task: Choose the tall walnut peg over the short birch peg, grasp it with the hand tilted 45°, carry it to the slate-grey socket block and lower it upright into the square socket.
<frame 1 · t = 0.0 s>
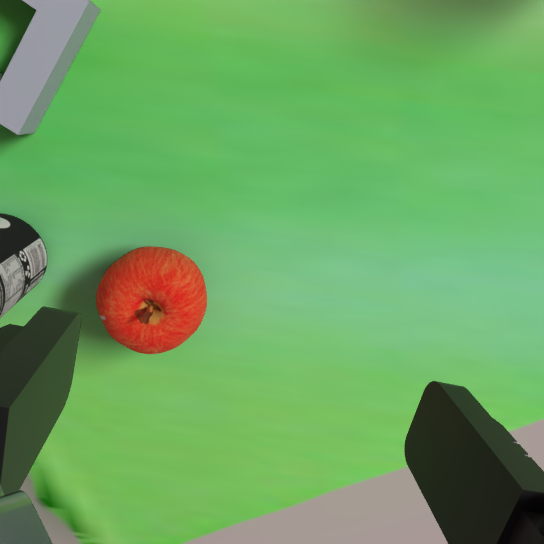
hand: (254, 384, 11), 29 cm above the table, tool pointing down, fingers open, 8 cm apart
apple: (160, 282, 41), on the table
beverage can: (8, 251, 39), on the table
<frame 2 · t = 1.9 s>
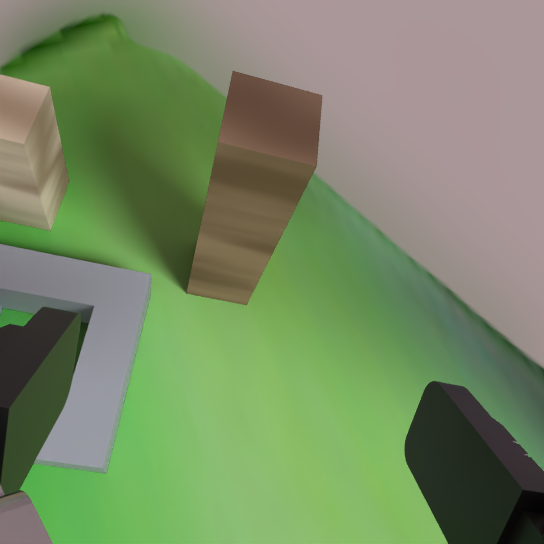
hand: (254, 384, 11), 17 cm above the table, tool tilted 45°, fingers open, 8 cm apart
socket block: (36, 361, 26), on the table
walnut peg: (221, 272, 31), on the table
birch peg: (28, 198, 30), on the table
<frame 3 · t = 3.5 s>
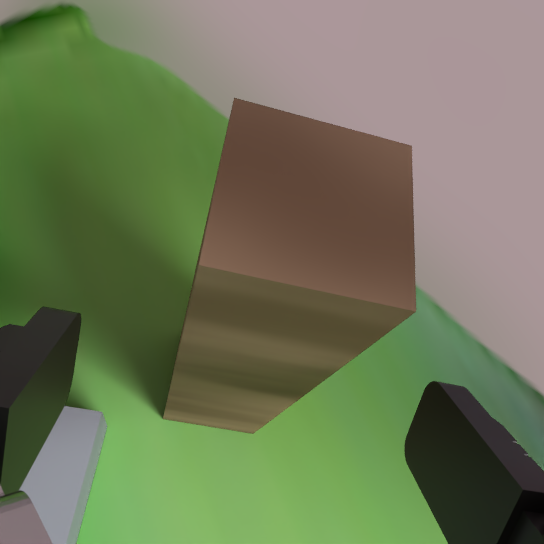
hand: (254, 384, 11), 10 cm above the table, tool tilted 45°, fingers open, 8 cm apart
walnut peg: (216, 381, 21), on the table
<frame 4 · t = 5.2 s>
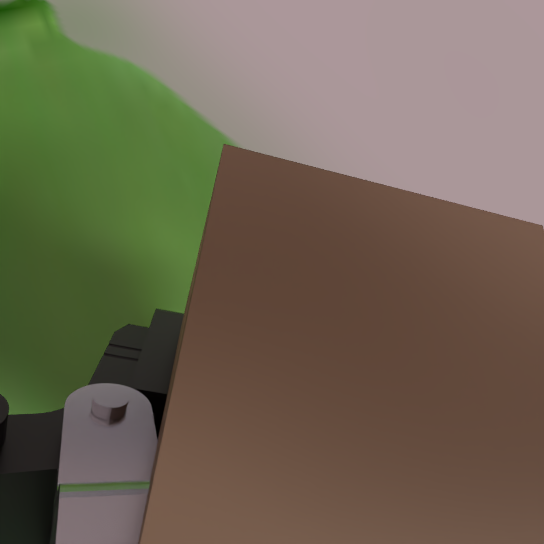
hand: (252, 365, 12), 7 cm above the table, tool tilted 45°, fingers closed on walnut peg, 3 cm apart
walnut peg: (206, 473, 17), on the table, touching gripper
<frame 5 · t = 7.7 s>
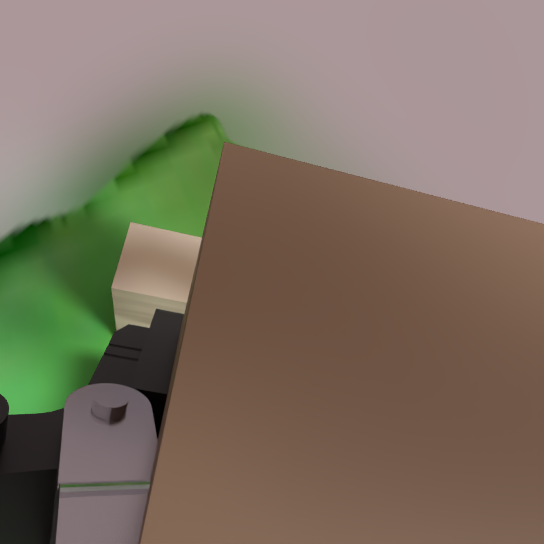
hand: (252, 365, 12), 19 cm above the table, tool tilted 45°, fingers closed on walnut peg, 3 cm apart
walnut peg: (206, 473, 17), point 13 cm above the table, touching gripper
birch peg: (155, 317, 32), on the table
when the fingers open (8 cm above the table, at t = 10.5 s): walnut peg drops 2 cm, resting in socket block.
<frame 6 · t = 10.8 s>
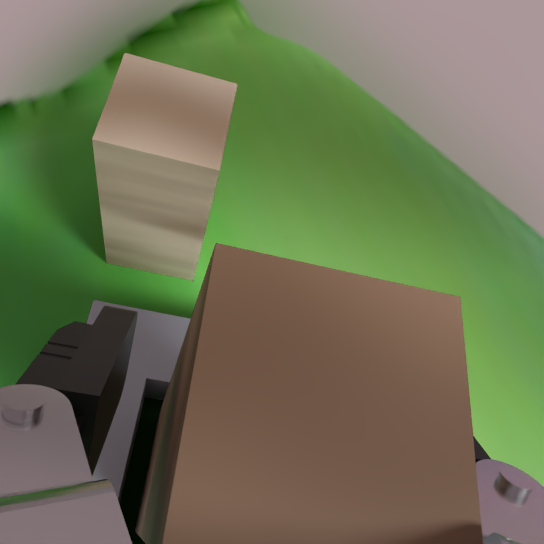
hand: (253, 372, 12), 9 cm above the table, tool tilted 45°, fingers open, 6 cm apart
socket block: (198, 477, 18), on the table
walnut peg: (197, 479, 18), resting in socket block
birch peg: (160, 235, 22), on the table
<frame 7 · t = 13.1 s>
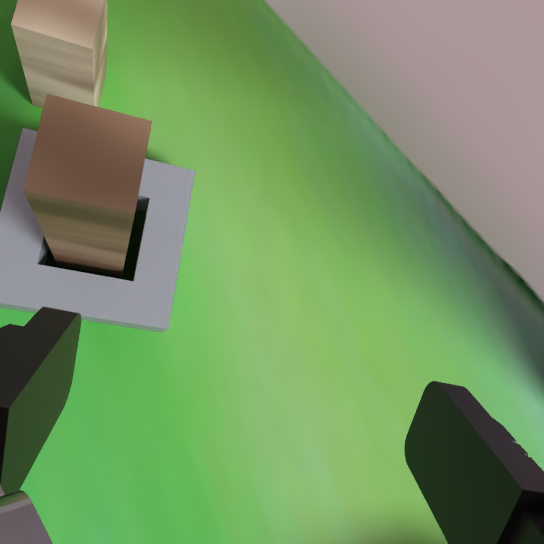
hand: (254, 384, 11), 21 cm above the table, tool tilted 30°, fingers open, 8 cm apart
socket block: (96, 241, 31), on the table
walnut peg: (96, 242, 31), resting in socket block
birch peg: (70, 87, 32), on the table
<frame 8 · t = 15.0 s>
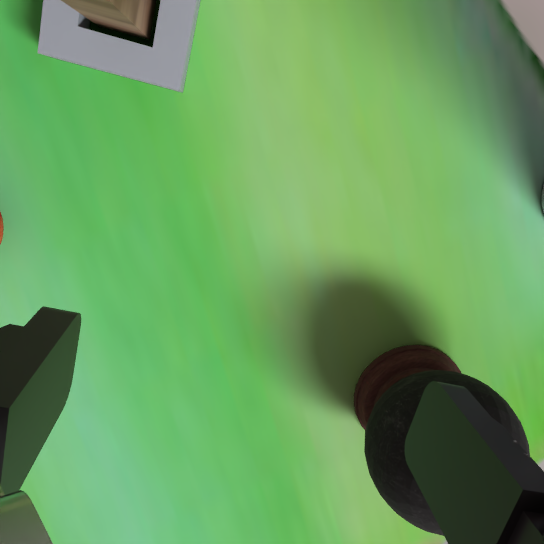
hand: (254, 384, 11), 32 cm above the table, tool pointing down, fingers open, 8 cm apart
socket block: (129, 5, 37), on the table
walnut peg: (129, 6, 37), resting in socket block
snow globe: (407, 393, 50), on the table
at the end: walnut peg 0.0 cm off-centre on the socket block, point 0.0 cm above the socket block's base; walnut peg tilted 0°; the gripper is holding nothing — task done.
